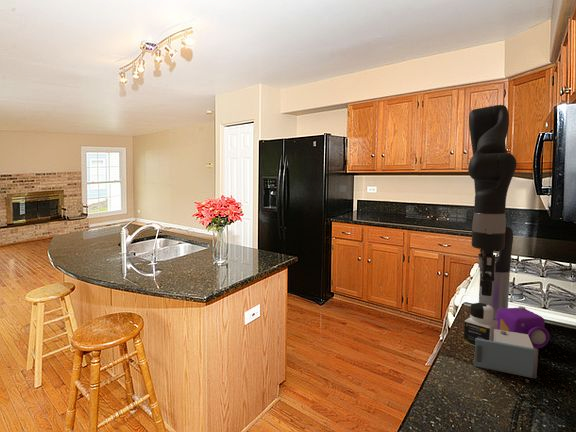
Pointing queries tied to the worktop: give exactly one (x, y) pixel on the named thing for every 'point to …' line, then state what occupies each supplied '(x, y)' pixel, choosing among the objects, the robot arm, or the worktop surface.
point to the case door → (506, 357)
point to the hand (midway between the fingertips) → (485, 290)
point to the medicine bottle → (479, 324)
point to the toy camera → (523, 324)
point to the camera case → (512, 338)
